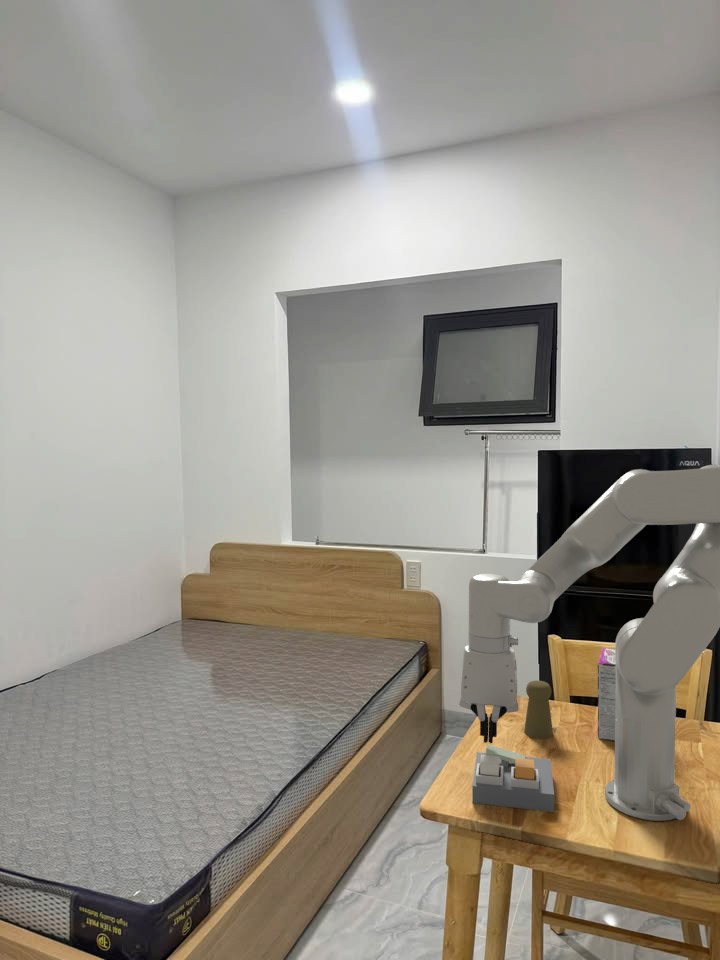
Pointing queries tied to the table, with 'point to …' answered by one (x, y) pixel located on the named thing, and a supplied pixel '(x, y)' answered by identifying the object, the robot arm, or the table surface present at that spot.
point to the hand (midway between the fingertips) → (488, 739)
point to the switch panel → (515, 786)
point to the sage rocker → (503, 753)
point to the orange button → (524, 768)
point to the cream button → (489, 765)
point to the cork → (538, 711)
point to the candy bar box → (606, 694)
